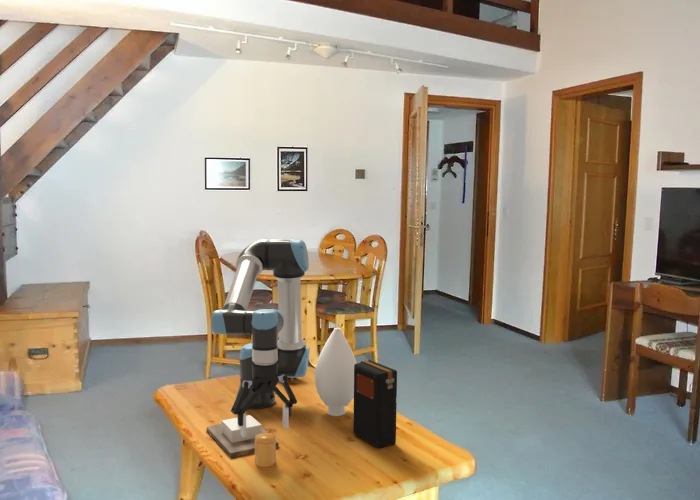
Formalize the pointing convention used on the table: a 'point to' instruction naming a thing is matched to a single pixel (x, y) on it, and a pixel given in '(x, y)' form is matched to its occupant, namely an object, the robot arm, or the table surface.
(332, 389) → the lamp
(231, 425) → the box
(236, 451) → the mounting board
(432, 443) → the table surface
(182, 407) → the table surface
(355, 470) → the table surface
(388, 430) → the black upright block
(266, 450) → the orange acorn nut
